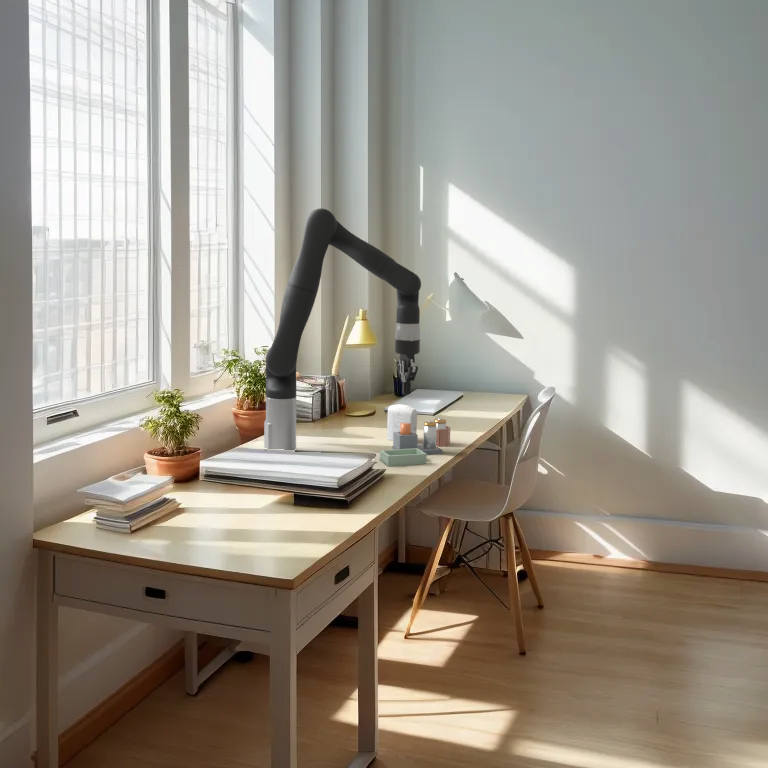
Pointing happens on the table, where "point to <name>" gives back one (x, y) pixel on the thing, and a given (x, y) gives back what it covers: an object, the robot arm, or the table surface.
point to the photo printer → (400, 419)
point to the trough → (403, 457)
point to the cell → (430, 435)
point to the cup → (443, 437)
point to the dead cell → (440, 423)
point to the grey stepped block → (411, 443)
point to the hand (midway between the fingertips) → (406, 393)
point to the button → (405, 429)
